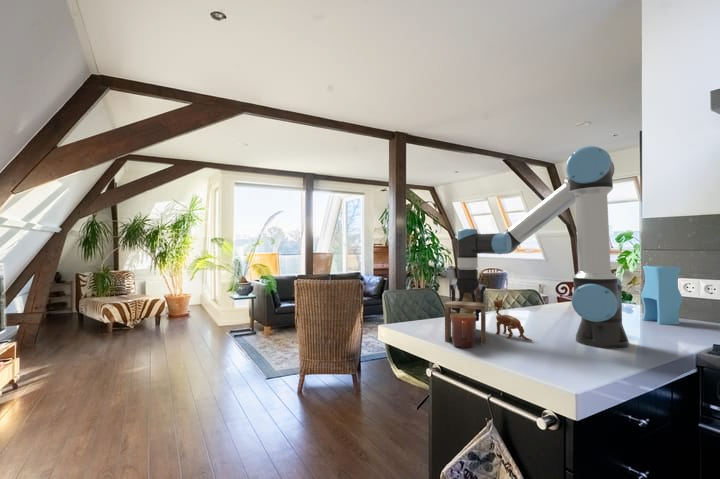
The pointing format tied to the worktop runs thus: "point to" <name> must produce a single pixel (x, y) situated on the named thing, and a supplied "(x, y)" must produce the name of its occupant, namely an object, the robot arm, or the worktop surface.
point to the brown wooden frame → (466, 306)
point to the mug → (463, 329)
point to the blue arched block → (661, 294)
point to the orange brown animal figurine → (508, 322)
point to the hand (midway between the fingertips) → (467, 328)
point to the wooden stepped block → (468, 298)
